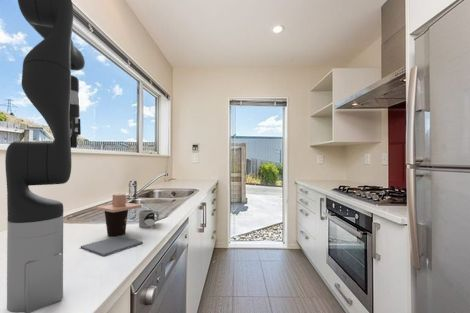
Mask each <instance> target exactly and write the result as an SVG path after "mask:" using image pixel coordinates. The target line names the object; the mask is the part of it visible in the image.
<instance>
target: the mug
mask: <svg viewBox="0 0 470 313" xmlns="http://www.w3.org/2000/svg"><path fill="white" fill-rule="evenodd" d="M159 217H160V212H159V211H158V210H154V209H142V210H139V211H138V227H139V228H141V229H146V228H147V229H148V228H152V227H155V225H156V224H155V223H157V222H158V221H159V220H160V219H159Z"/></svg>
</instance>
